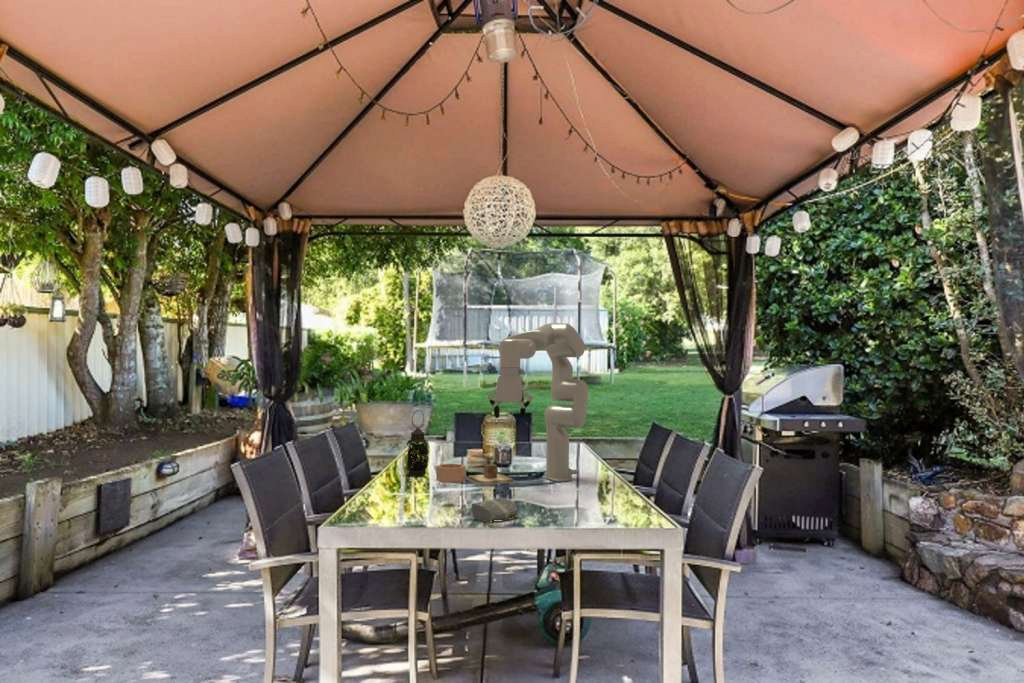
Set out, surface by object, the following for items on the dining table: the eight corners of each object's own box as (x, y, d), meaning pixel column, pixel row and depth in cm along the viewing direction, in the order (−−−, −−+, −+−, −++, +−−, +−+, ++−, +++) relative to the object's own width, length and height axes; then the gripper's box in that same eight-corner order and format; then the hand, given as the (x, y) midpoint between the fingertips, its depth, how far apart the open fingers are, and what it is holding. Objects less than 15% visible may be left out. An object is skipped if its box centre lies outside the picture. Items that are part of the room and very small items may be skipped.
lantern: (417, 472, 317) (418, 408, 317) (432, 475, 312) (433, 410, 312) (401, 475, 309) (402, 410, 309) (417, 478, 304) (418, 411, 304)
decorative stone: (498, 513, 242) (498, 495, 242) (521, 518, 235) (521, 499, 235) (471, 519, 232) (471, 501, 232) (494, 525, 226) (494, 506, 226)
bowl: (458, 478, 303) (459, 463, 303) (468, 483, 293) (468, 467, 293) (433, 480, 298) (434, 464, 298) (442, 485, 288) (442, 468, 288)
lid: (499, 475, 306) (499, 461, 306) (513, 481, 293) (513, 466, 293) (468, 478, 300) (468, 463, 300) (481, 483, 287) (481, 468, 287)
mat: (501, 477, 308) (501, 474, 308) (519, 484, 292) (519, 482, 292) (462, 479, 301) (462, 477, 301) (478, 487, 285) (478, 485, 285)
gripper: (535, 372, 270) (534, 418, 270) (491, 371, 275) (490, 416, 275) (530, 373, 263) (529, 420, 263) (484, 372, 268) (484, 418, 268)
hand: (509, 418), depth 269 cm, fingers open, 9 cm apart
